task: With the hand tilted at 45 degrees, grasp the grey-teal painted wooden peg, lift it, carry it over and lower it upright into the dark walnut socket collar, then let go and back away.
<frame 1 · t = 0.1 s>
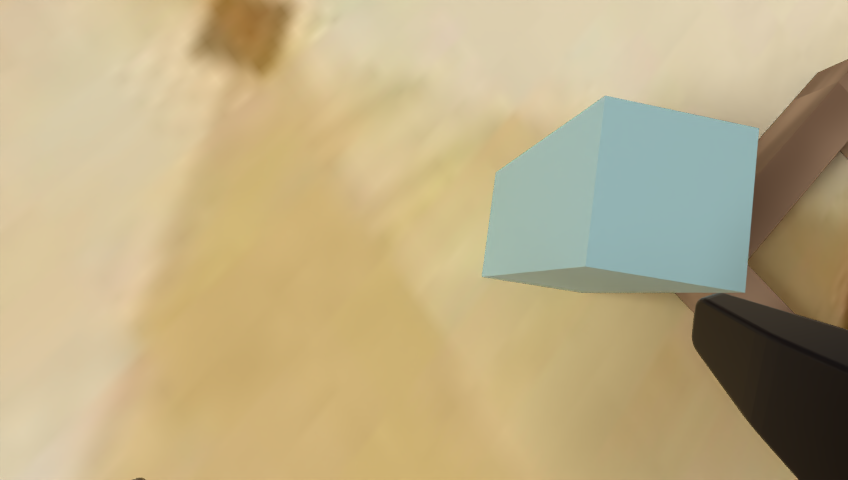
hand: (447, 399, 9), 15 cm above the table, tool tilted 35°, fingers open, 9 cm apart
socket collar: (830, 265, 27), on the table
peg: (539, 232, 25), on the table
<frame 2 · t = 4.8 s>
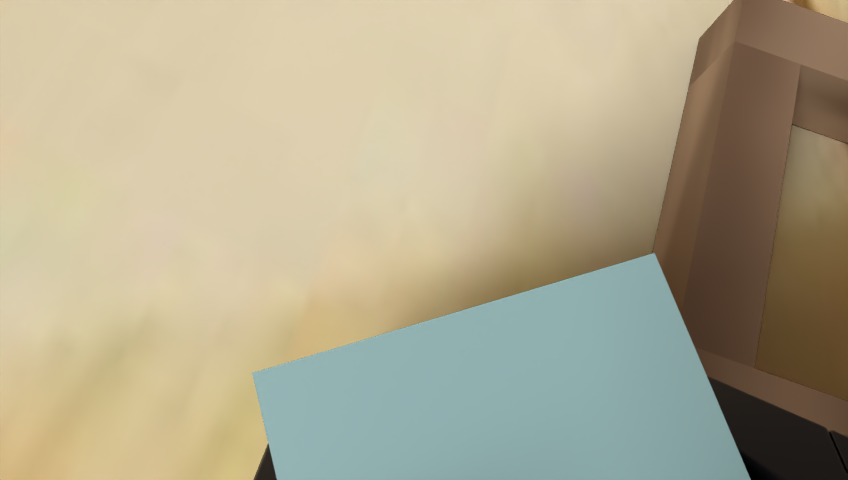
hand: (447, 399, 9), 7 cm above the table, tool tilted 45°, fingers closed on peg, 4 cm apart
peg: (428, 460, 15), on the table, touching gripper
when the fingers open (8 cm above the table, at t = 9.8 s): peg drops 1 cm, resting in socket collar.
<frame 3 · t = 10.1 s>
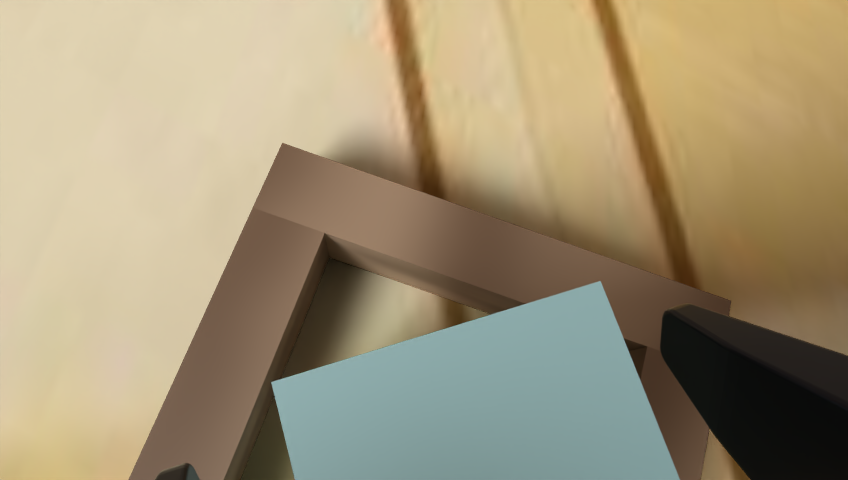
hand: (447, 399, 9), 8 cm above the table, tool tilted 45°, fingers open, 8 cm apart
socket collar: (422, 456, 17), on the table
peg: (421, 456, 17), resting in socket collar
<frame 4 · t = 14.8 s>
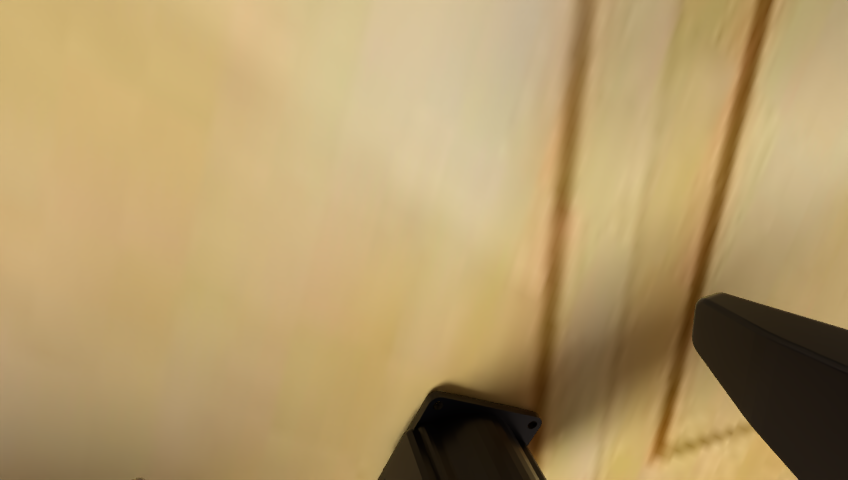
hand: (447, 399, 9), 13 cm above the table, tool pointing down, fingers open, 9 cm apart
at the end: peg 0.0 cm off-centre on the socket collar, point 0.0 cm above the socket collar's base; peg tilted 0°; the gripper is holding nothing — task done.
